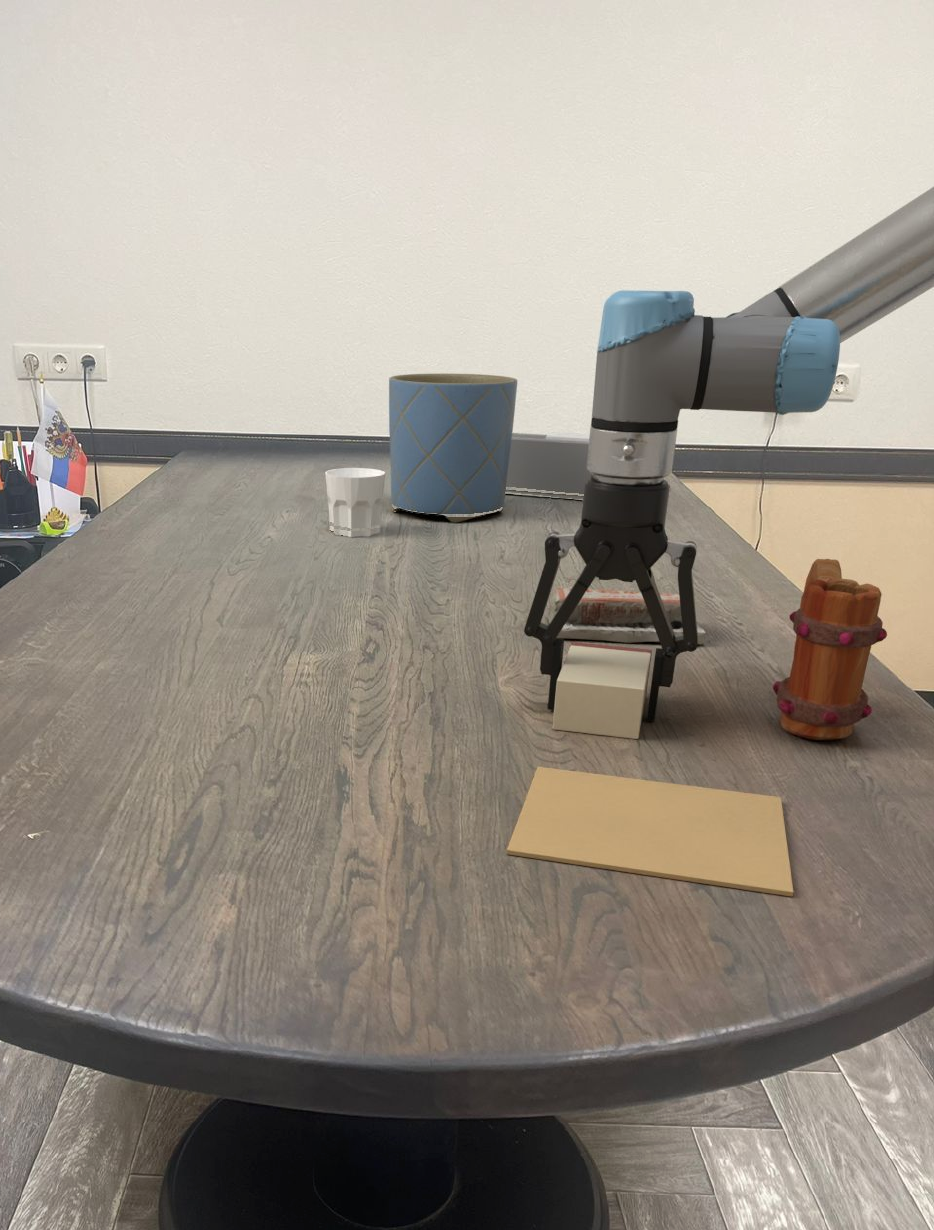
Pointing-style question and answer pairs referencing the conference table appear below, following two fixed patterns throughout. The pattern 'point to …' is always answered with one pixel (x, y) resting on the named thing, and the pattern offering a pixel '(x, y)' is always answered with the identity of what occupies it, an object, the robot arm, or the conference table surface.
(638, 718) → the red-capped cream block
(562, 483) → the grey rounded block
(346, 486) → the cup
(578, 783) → the cork mat
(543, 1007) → the conference table surface
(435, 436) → the planter
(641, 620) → the grey boxy piece
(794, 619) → the mug
